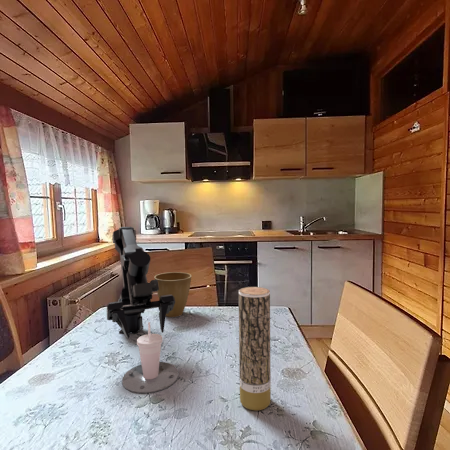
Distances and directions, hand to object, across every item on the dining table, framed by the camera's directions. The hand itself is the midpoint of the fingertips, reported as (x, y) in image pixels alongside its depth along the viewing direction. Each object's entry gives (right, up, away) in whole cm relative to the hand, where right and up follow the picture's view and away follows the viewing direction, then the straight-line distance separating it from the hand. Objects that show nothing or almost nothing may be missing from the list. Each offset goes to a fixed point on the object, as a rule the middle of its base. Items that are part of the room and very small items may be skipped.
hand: (145, 335), depth 84 cm
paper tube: (+28, -9, -16) cm, 34 cm away
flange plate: (+3, -9, -5) cm, 11 cm away
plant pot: (+1, -7, +43) cm, 43 cm away
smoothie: (+2, -9, -5) cm, 10 cm away
